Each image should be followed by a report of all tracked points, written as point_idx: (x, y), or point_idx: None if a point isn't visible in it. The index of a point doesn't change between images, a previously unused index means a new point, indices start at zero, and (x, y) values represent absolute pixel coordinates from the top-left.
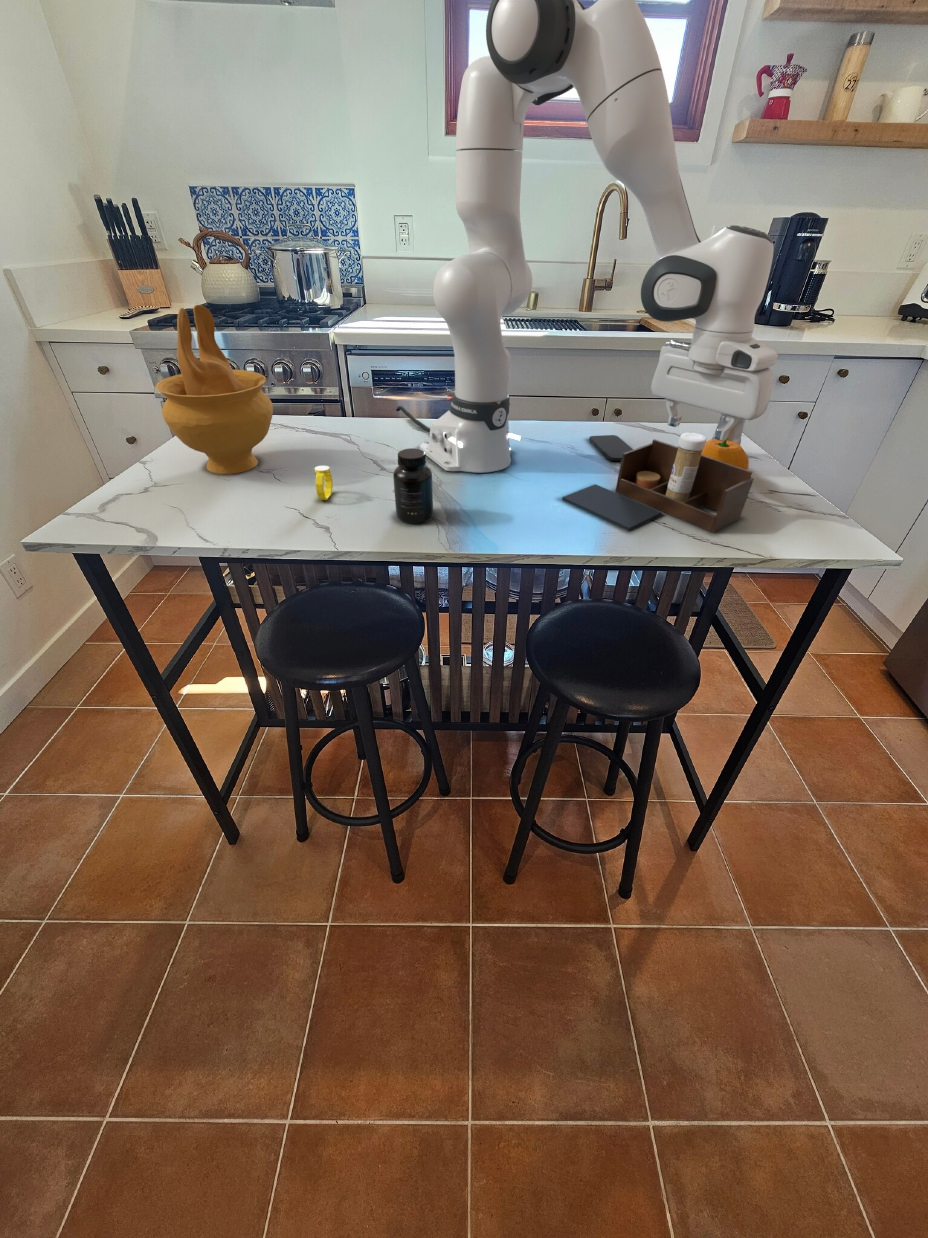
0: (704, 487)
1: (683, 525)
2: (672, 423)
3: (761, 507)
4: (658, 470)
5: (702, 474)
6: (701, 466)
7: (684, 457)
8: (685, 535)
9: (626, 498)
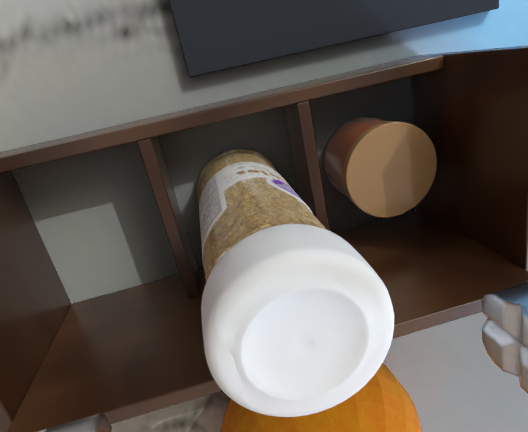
0: None
1: (84, 95)
2: (524, 294)
3: None
4: (404, 243)
5: None
6: None
7: (246, 216)
8: (4, 35)
9: (346, 32)
